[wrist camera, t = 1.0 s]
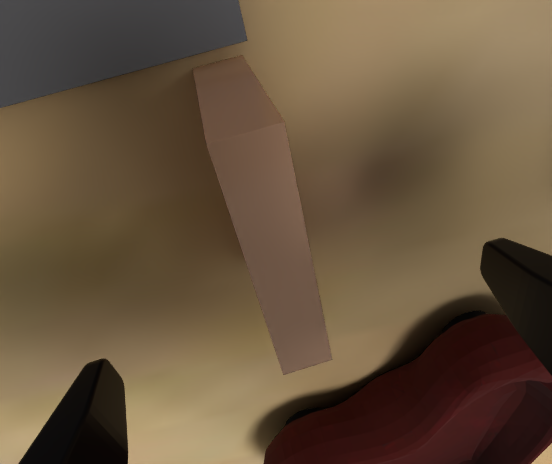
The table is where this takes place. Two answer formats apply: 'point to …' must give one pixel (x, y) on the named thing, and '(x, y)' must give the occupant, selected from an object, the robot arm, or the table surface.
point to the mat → (103, 39)
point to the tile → (264, 207)
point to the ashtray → (436, 407)
